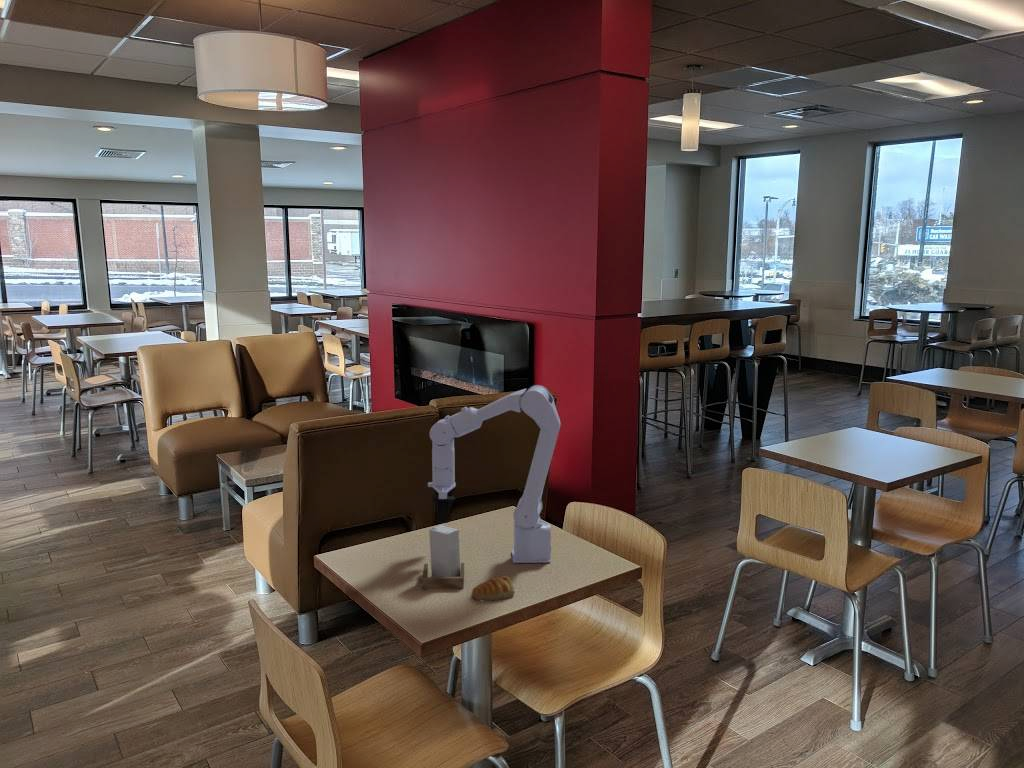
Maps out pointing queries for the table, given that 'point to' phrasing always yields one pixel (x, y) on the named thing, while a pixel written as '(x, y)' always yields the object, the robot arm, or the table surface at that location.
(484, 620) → the table surface
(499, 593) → the pastry
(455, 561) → the skincare box
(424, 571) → the bottle holder
